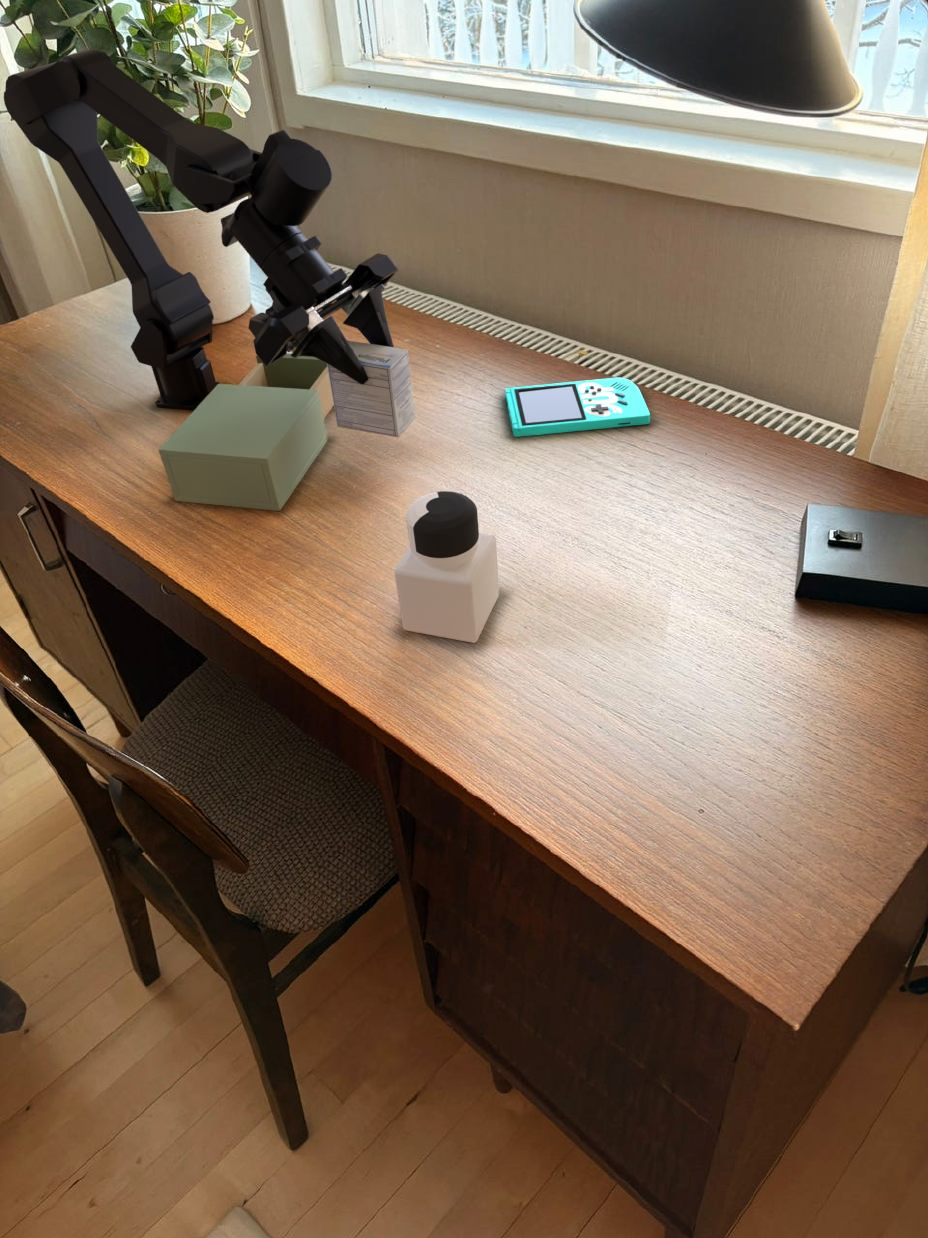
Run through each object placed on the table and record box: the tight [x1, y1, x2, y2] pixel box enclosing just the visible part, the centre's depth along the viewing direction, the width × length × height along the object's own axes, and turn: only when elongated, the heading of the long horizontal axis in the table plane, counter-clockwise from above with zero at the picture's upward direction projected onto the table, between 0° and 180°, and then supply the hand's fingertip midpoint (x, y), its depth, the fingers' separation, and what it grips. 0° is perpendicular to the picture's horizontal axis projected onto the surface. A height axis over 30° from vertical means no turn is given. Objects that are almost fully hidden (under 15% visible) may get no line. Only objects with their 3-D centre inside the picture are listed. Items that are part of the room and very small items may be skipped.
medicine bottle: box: [394, 490, 500, 644], centre depth 83 cm, size 7×7×12 cm
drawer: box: [237, 347, 334, 419], centre depth 115 cm, size 18×11×5 cm, turn 165°
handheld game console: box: [504, 377, 651, 438], centre depth 112 cm, size 10×16×1 cm, turn 94°
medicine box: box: [327, 340, 416, 439], centre depth 103 cm, size 8×4×9 cm, turn 66°
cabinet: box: [158, 383, 329, 512], centre depth 106 cm, size 15×13×7 cm
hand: (380, 371), depth 100 cm, fingers closed on medicine box, 5 cm apart
